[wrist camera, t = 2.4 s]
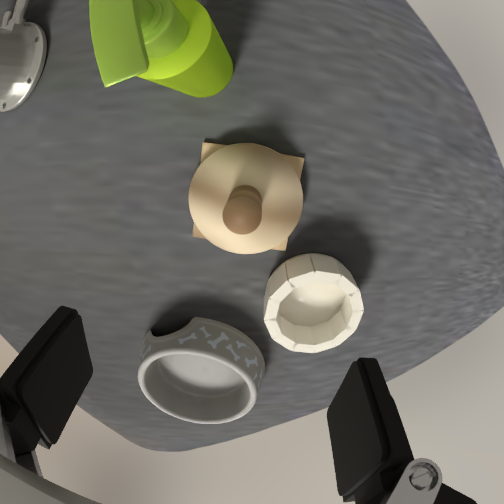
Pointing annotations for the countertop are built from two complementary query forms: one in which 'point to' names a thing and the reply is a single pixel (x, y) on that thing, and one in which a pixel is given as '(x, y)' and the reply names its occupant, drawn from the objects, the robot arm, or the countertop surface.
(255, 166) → the lid
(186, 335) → the dog bowl
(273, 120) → the countertop surface
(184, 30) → the soap dispenser
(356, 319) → the bowl
